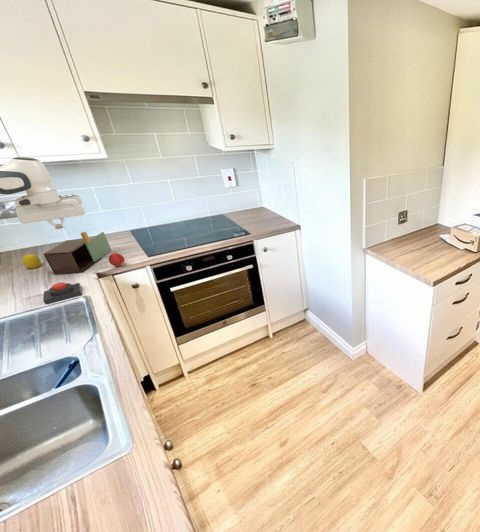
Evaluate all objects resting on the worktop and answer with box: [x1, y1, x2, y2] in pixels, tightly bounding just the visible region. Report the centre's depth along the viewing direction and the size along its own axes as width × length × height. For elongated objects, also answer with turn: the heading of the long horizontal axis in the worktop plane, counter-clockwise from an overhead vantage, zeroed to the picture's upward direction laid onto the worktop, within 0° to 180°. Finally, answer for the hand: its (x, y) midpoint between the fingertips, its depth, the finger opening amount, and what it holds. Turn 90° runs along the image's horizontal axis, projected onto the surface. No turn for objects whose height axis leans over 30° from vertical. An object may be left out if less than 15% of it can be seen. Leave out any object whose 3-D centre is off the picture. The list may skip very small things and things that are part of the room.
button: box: [51, 281, 67, 291], centre depth 133 cm, size 4×4×2 cm
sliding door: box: [80, 231, 112, 262], centre depth 164 cm, size 15×1×15 cm, turn 13°
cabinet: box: [43, 238, 103, 276], centre depth 156 cm, size 16×11×11 cm
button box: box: [42, 282, 83, 306], centre depth 134 cm, size 11×9×4 cm
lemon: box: [21, 253, 42, 269], centre depth 153 cm, size 6×6×8 cm
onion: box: [108, 251, 126, 267], centre depth 157 cm, size 6×6×8 cm
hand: (60, 228), depth 141 cm, fingers closed
